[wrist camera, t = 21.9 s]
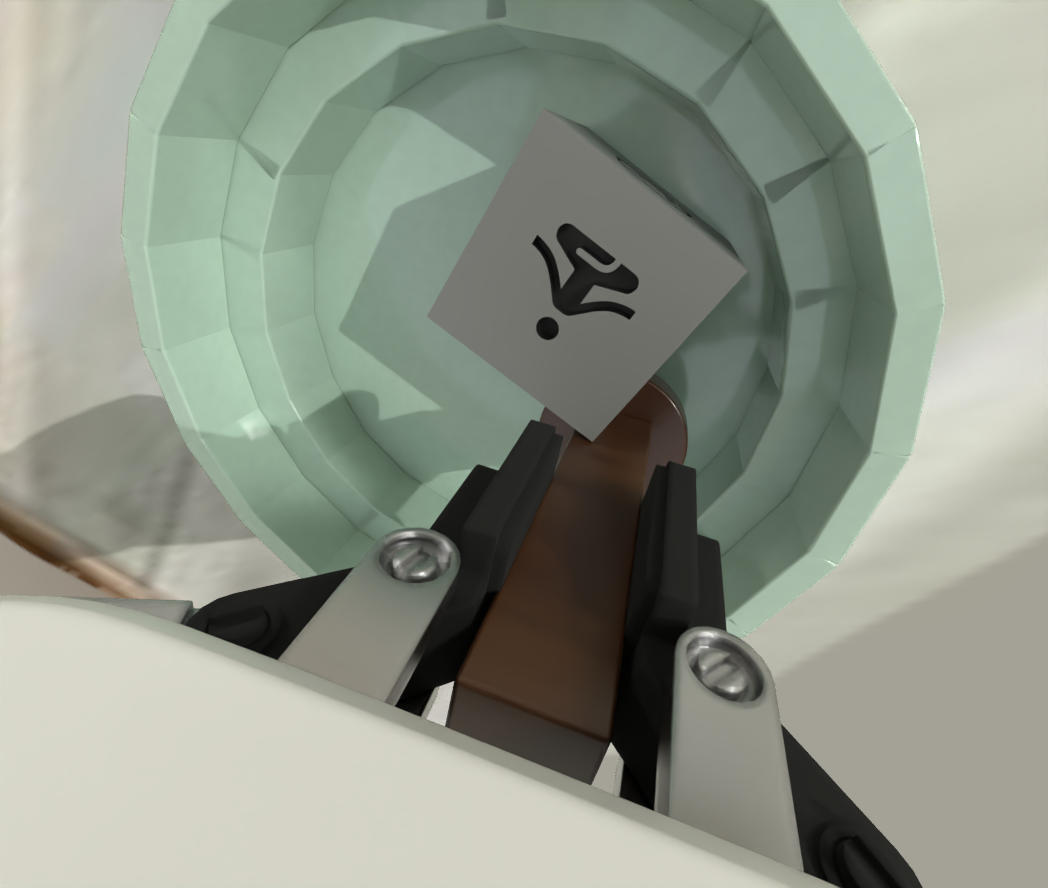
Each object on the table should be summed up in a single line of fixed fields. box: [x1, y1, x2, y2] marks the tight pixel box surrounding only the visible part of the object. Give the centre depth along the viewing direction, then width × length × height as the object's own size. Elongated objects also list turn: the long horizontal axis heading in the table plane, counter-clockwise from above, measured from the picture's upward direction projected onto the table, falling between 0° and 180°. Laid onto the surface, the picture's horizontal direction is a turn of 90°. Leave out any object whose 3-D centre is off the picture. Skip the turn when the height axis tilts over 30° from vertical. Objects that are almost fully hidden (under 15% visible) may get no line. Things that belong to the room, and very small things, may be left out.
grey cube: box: [427, 108, 747, 442], centre depth 14 cm, size 5×5×5 cm
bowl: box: [121, 0, 945, 638], centre depth 16 cm, size 20×20×6 cm
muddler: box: [445, 374, 688, 785], centre depth 11 cm, size 4×4×11 cm
